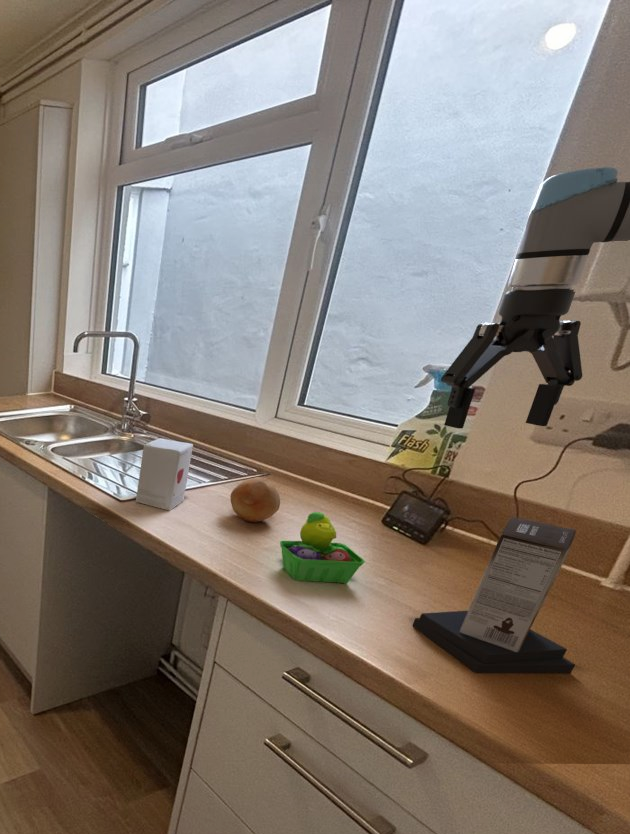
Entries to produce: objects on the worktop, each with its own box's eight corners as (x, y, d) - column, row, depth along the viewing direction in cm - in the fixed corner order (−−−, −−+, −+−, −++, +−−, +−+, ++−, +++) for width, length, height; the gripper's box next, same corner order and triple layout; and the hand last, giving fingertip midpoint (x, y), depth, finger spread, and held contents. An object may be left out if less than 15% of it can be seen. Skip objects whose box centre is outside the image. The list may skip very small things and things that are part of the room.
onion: (224, 509, 127) (232, 469, 123) (270, 514, 124) (280, 474, 120) (229, 524, 118) (237, 483, 115) (279, 530, 115) (289, 488, 111)
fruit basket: (290, 583, 95) (305, 526, 90) (270, 560, 103) (283, 507, 98) (359, 587, 93) (378, 530, 89) (333, 564, 101) (349, 510, 97)
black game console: (494, 624, 83) (501, 608, 81) (570, 673, 72) (580, 655, 71) (408, 624, 83) (414, 608, 82) (472, 673, 72) (480, 655, 71)
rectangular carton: (170, 511, 126) (179, 451, 120) (134, 502, 131) (142, 444, 126) (184, 501, 132) (194, 443, 126) (150, 492, 137) (158, 437, 132)
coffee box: (470, 609, 81) (511, 514, 75) (528, 628, 77) (577, 529, 71) (457, 632, 76) (500, 532, 70) (519, 654, 71) (571, 549, 65)
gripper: (595, 287, 84) (546, 419, 91) (436, 292, 84) (401, 423, 91) (653, 284, 77) (596, 428, 84) (480, 290, 77) (438, 432, 84)
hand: (494, 425), depth 88 cm, fingers open, 13 cm apart
